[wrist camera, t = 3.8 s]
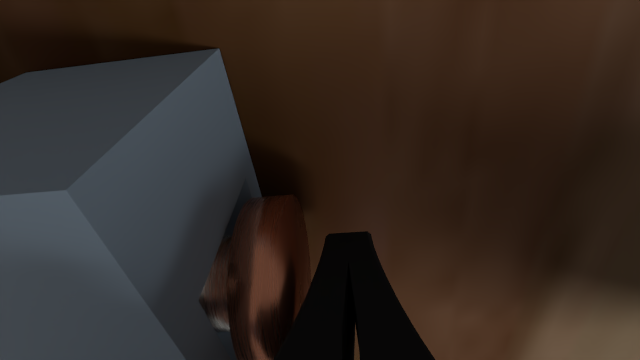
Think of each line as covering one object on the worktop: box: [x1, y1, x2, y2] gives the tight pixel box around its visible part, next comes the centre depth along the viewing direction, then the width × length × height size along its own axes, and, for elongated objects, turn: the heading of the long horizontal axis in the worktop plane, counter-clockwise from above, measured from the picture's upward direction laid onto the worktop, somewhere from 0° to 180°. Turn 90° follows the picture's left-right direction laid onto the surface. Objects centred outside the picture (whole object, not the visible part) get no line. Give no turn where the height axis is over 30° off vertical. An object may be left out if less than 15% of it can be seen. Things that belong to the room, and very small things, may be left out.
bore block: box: [0, 48, 262, 360], centre depth 10 cm, size 6×12×6 cm, turn 7°
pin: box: [199, 195, 311, 360], centre depth 11 cm, size 10×5×5 cm, turn 97°
